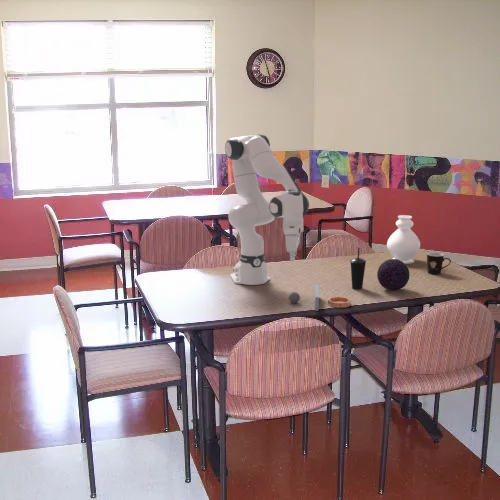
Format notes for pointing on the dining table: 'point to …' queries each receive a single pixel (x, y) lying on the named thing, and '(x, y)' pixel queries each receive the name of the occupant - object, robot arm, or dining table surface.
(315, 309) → the wall
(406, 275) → the toy ball
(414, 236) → the decorative vase
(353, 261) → the drinking cup
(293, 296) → the ball
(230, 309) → the dining table surface
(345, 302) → the dish
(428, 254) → the coffee mug
